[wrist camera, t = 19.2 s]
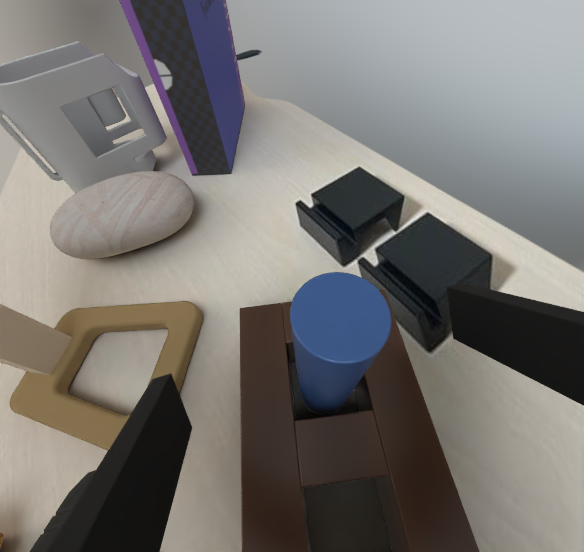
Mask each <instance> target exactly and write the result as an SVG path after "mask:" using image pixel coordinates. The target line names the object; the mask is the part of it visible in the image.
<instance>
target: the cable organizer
mask: <svg viewBox="0 0 584 552" xmlns="http://www.w3.org/2000/svg"><path fill="white" fill-rule="evenodd" d="M113 87H114V89H115V91H116V93H117V95H118V96H119V98H120V100H121V102H122V104H123V106H124V108H125V110H126V112H127V113H128V115H129V117H130V119H131V120H130V121H128V122H126V123H124V124H121V125H119V126H117V127H114V128H112V129H110V130H108V131H107V129H106V128H105V127H106V126H109V125H112V124H115V123H118V122H120V121H122V120H124V119H125V117H126V114H125V112H124V110H123V109H122V107H121V105H120V103H119V101H118V99H117V97H116V96H115V94H114V92H113V90H112V88H113ZM3 114H5V115H6V116H7V117H8V118H9V119H10V120H11V121H12V123H14V125H15V126H16V127H17V128H18V129H19V130H20V131H21V133H22V134H23V135H24V136H25V137H26V138H27V139H28V141H29V142H30V143H31V144H32V145H33V146H34V147H35V148H36V150H37V151H38V152H39V153H40V154H41V155H42V156H43V157H44V159H45V160H46V161H47V162H48V163H49V164H50V165H51V166H52V168H53V169H54V170H55V171H56V173H52V171H51V170H50V169H49V168H48V167H47V166H46V165H45V164H44V163H43V162H42V160H41V159H40V158H39V157H38V156H37V155H36V154H35V153H34V152H33V151H32V149H31V148H30V147H29V146H28V145H27V144H26V143H25V142H24V141H23V139H22V138H21V137H20V136H19V135H18V134H17V133H16V132H15V131H14V130H13V128H12V127H11V126H10V125H9V124H8V123H7V122H6V121H5V120H4V119H3V117H2V115H3ZM0 124H1V125H2V126H3V127H4V129H5V130H6V131H7V132H8V133H9V134H10V135H11V136H12V137H13V138H14V139H15V140H16V141H17V143H18V144H19V145H20V146H21V147H22V148H23V149H24V150H25V151H26V152H27V153H28V154H29V155H30V156H31V158H32V159H33V160H34V161H35V162H36V163H37V164H38V165H39V166H40V167H41V168H42V169H43V170H44V172H45V173H46V174H47V175H48V176H49V177H50V178H51V179H53V180H56V181H59V180H62V179H63V180H64V181H65V182H66V183H67V184H68V185H69V187H70V188H71V189H72V190H73V191H74V192H75V193H78V192H79V191H81V190H83V189H85V188H87V187H89V186H91V185H94V184H96V183H98V182H101V181H104V180H107V179H109V178H113V177H116V176H120V175H124V174H128V173H134V172H141V171H153V169H154V166H155V163H156V157H155V155H154V154H153V152H152V150H151V149H153V148H155V147H157V146H159V145H161V144H162V143H164V142H165V140H166V138H167V137H166V135H165V132H164V130H163V128H162V126H161V123H160V121H159V119H158V117H157V114H156V112H155V110H154V108H153V105H152V103H151V101H150V99H149V97H148V94H147V92H146V90H145V88H144V86H143V83H142V81H141V79H140V76H139V75H137V74H135V73H134V72H132V71H130V70H128V69H126V68H124V67H122V66H120V65H117V64H115V63H114V62H113V61H112V60H111V59H109V58H108V57H107V56H106V55H105V54H103V53H102V54H99V55H95V54H94V53H93V52H91V51H90V50H89V49H88V48H86V47H85V46H84V45H83V44H81V43H80V42H79V41H78V42H74V43H71V44H68V45H64V46H61V47H57V48H54V49H51V50H47V51H44V52H40V53H37V54H34V55H30V56H27V57H24V58H20V59H17V60H13V61H10V62H7V63H4V64H1V65H0ZM140 128H142V129H143V131H144V133H145V135H143V136H141V137H139V138H136V139H134V140H127V141H122V142H119V143H116V144H113V142H112V141H113V140H115V139H118V138H120V137H122V136H124V135H126V134H129V133H131V132H133V131H135V130H137V129H140Z"/></svg>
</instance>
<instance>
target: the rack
mask: <svg viewBox="0 0 584 552" xmlns="http://www.w3.org/2000/svg"><path fill="white" fill-rule="evenodd" d="M379 291H380V293H381V294H382V295H383V297H384V298H385V300H386V302H387V304H388V307H389V310H390V313H391V331H390V334H389V337H388V339H387V341H386V343H385V345H384V346H383V348H382V349H381V351H380V352H379V353H378V355H377V356H376V358H375V359H374V361H373V362H372V364H371V365H370V367H369V368H368V369H367V371H366V372H365V374H364V375H363V377H362V378H361V380H360V381H359V383H358V384H357V386H356V387H355V388H354V389H355V394H356V398H357V402H358V406H359V411H360V412H353V413H345V414H338V415H331V416H324V417H317V418H309V419H302V420H296V415H295V406H294V397H293V388H292V379H291V370H290V362H291V361H296V359H295V352H294V345H293V338H292V330H291V323H290V308H291V304H292V302H285V303H282V304H281V303H278V304H270V305H262V306H254V307H246V308H240V388H241V504H242V552H311V550H310V541H309V532H308V523H307V514H306V505H305V496H304V488H305V487H312V486H319V485H326V484H333V483H340V482H347V481H354V480H361V479H368V478H375V480H376V484H377V488H378V492H379V497H380V501H381V505H382V510H383V514H384V518H385V523H386V527H387V531H388V535H389V540H390V544H391V548H392V552H479V549H478V547H477V544H476V541H475V538H474V536H473V533H472V530H471V527H470V524H469V522H468V519H467V516H466V513H465V511H464V508H463V505H462V502H461V500H460V497H459V494H458V491H457V489H456V486H455V483H454V480H453V478H452V475H451V472H450V469H449V467H448V464H447V461H446V458H445V455H444V453H443V450H442V447H441V444H440V442H439V439H438V436H437V433H436V431H435V428H434V425H433V422H432V420H431V417H430V414H429V411H428V409H427V406H426V403H425V400H424V397H423V395H422V392H421V389H420V386H419V384H418V381H417V378H416V375H415V373H414V370H413V367H412V364H411V362H410V359H409V356H408V353H407V351H406V348H405V345H404V342H403V340H402V337H401V334H400V331H399V328H398V326H397V323H396V320H395V317H394V315H393V312H392V309H391V306H390V304H389V301H388V298H387V295H386V293H385V290H379Z"/></svg>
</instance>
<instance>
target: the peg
mask: <svg viewBox="0 0 584 552" xmlns="http://www.w3.org/2000/svg"><path fill="white" fill-rule="evenodd" d="M290 323H291V330H292V338H293V345H294V352H295V359H296V366H297V374H298V381H299V388H300V395H301V398H302V401H303V402H304V404H305V406H306V407H307V408H308V409H309V410H311V411H312V412H314V413H316V414H319V415H331V414H333V413H335V412H337V411H338V410H339V409H340V408H341V407H342V406H343V404H344V403H345V402H346V400H347V399H348V397H349V396H350V394H351V393H352V391H353V390H354V388H355V387H356V386H357V384H358V383H359V381H360V380H361V378H362V377H363V375H364V374H365V372H366V371H367V369H368V368H369V367H370V365H371V364H372V362H373V361H374V359H375V358H376V356H377V355H378V353H379V352H380V351H381V349H382V348H383V346H384V345H385V343H386V341H387V339H388V337H389V334H390V331H391V313H390V310H389V307H388V304H387V302H386V300H385V298H384V297H383V295H382V294H381V293H380V291H379V290H378V289H377V288H376V287H375V286H373V285H372V284H371V283H369V282H368V281H366V280H365V279H363V278H361V277H358V276H356V275H352V274H348V273H341V272H334V273H326V274H322V275H319V276H317V277H314V278H312V279H311V280H309V281H308V282H306V283H305V284H304V285H303V286H302V287H301V288H300V289H299V290H298V292H297V293H296V295H295V296H294V298H293V301H292V304H291V308H290Z"/></svg>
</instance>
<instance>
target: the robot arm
mask: <svg viewBox="0 0 584 552" xmlns="http://www.w3.org/2000/svg"><path fill="white" fill-rule="evenodd" d="M447 294H448V301H449V309H450V316H451V324H452V331H453V339H455V340H457V341H459V342H461V343H463V344H465V345H467V346H469V347H471V348H473V349H475V350H477V351H479V352H481V353H483V354H485V355H486V356H488V357H490V358H492V359H494V360H496V361H498V362H500V363H502V364H504V365H506V366H508V367H510V368H512V369H514V370H516V371H518V372H520V373H521V374H523V375H525V376H527V377H529V378H531V379H533V380H535V381H537V382H539V383H541V384H543V385H545V386H547V387H549V388H551V389H553V390H555V391H556V392H558V393H560V394H562V395H564V396H566V397H568V398H570V399H572V400H574V401H576V402H578V403H580V404H582V405H584V312H581V311H577V310H573V309H569V308H565V307H560V306H556V305H552V304H548V303H544V302H540V301H535V300H531V299H527V298H523V297H519V296H514V295H510V294H506V293H502V292H498V291H493V290H489V289H485V288H481V287H477V286H473V285H468V284H464V283H458V284H455V285H451V286H448V287H447ZM191 430H192V426H191V424H190V421H189V418H188V416H187V413H186V410H185V408H184V405H183V403H182V400H181V397H180V395H179V392H178V390H177V387H176V384H175V382H174V379H173V376H172V374H171V373H170V374H167V375H164V376H160V377H157V378H154V379H152V381H151V382H150V384H149V386H148V387H147V389H146V391H145V392H144V394H143V395H142V397H141V399H140V400H139V402H138V403H137V405H136V407H135V408H134V410H133V412H132V413H131V415H130V416H129V418H128V420H127V421H126V423H125V425H124V426H123V428H122V429H121V431H120V433H119V434H118V436H117V438H116V439H115V441H114V442H113V444H112V446H111V447H110V449H109V451H108V452H107V454H106V455H105V457H104V459H103V460H102V462H101V463H100V465H99V467H98V468H97V470H95V471H92V472H89V473H87V474H86V475H85V476H84V478H83V479H82V480H81V481H80V482H79V483H78V484H77V485H76V486H75V487H74V488H73V489H72V490H71V491H70V492H69V493H68V495H67V496H66V498H65V499H64V501H63V502H62V504H61V505H60V507H59V508H58V510H57V511H56V516H54V517H52V519H51V520H50V522H49V523H48V525H47V526H46V528H45V529H44V534H42V535H40V537H39V538H38V540H37V541H36V543H35V544H34V546H33V547H32V549H31V550H30V552H159V551H160V548H161V544H162V540H163V536H164V532H165V529H166V525H167V521H168V517H169V513H170V510H171V506H172V502H173V498H174V495H175V491H176V487H177V483H178V479H179V476H180V472H181V468H182V464H183V460H184V457H185V453H186V449H187V445H188V441H189V438H190V434H191Z"/></svg>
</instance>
